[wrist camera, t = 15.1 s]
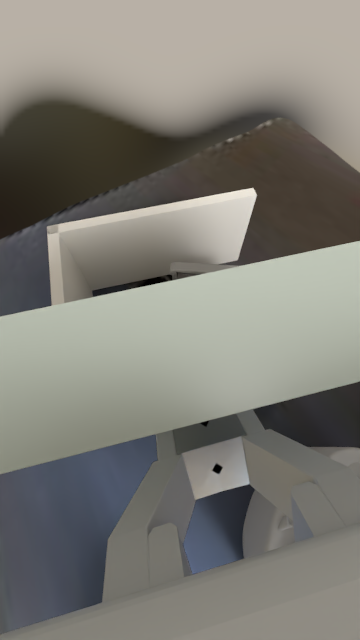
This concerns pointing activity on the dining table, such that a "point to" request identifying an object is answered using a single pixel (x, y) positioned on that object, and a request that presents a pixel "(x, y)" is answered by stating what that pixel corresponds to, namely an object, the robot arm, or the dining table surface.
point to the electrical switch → (194, 269)
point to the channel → (145, 243)
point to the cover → (176, 354)
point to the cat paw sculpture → (271, 523)
